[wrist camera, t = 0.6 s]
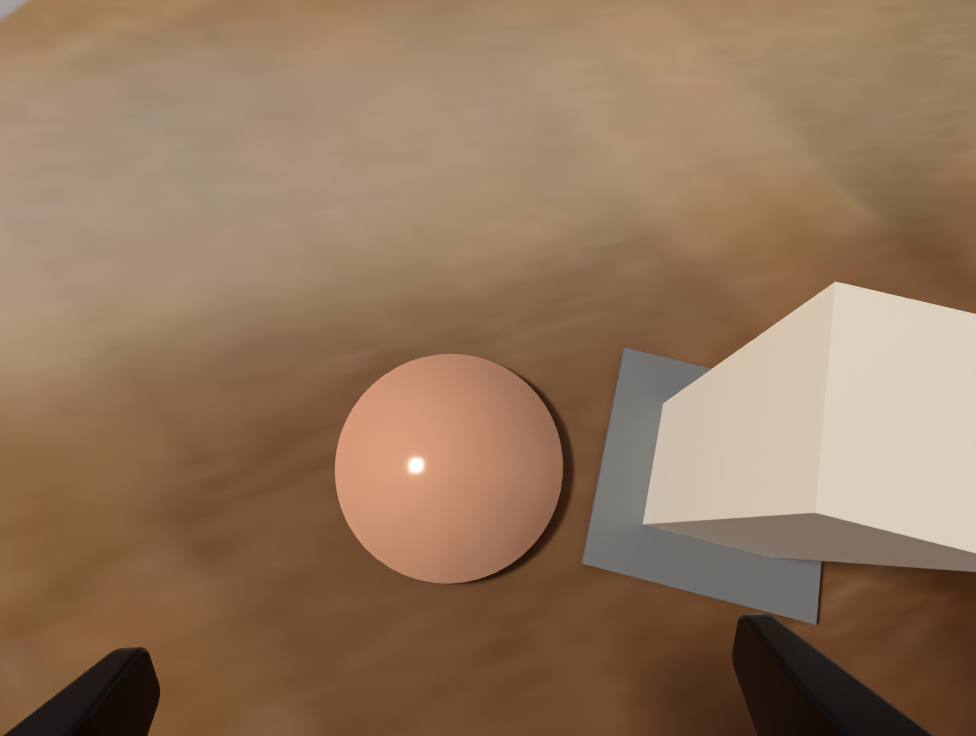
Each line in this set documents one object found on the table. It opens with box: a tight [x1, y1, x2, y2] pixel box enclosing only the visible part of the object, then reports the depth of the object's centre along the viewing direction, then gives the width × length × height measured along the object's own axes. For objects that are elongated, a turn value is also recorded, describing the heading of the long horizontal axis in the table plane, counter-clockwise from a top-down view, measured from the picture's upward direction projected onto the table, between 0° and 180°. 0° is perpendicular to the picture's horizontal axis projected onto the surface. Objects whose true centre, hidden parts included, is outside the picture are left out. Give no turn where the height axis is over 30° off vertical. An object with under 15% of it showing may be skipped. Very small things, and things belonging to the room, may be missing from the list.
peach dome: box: [335, 354, 563, 583], centre depth 23 cm, size 9×9×1 cm
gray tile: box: [581, 348, 822, 625], centre depth 23 cm, size 9×9×1 cm
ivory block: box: [643, 282, 976, 572], centre depth 17 cm, size 5×5×12 cm
